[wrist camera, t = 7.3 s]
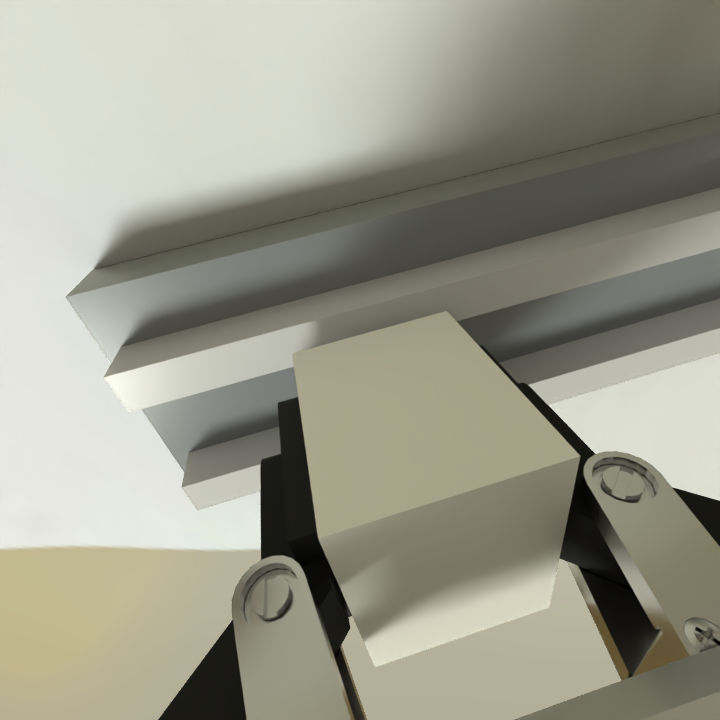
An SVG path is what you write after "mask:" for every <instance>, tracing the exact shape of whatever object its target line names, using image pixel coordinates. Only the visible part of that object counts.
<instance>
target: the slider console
mask: <svg viewBox="0 0 720 720" xmlns="http://www.w3.org/2000/svg"><path fill="white" fill-rule="evenodd" d="M66 298H67V300H68V301H69V303H70V304H71V306H72V307H73V309H74V310H75V311H76V313H77V314H78V316H79V317H80V319H81V320H82V322H83V323H84V325H85V326H86V328H87V329H88V331H89V332H90V334H91V335H92V337H93V338H94V340H95V341H96V342H97V344H98V345H99V347H100V348H101V350H102V351H103V353H104V354H105V356H106V357H107V359H108V360H109V362H110V363H111V365H110V367H109V369H108V371H107V372H106V374H105V376H104V379H105V380H106V381H107V383H108V384H109V386H110V387H111V389H112V390H113V391H114V393H115V394H116V396H117V397H118V398H119V400H120V401H121V403H122V404H123V405H124V407H125V408H126V410H127V411H128V413H129V412H133V411H137V410H140V409H142V410H143V412H144V413H145V415H146V416H147V418H148V419H149V421H150V422H151V424H152V425H153V427H154V428H155V430H156V431H157V433H158V434H159V435H160V437H161V438H162V440H163V441H164V443H165V444H166V446H167V447H168V449H169V450H170V452H171V453H172V455H173V456H174V458H175V459H176V461H177V462H178V464H179V465H180V467H181V468H182V469H183V471H184V472H185V473H184V478H183V483H182V489H183V490H184V492H185V493H186V494H187V496H188V497H189V499H190V500H191V502H192V503H193V504H194V506H195V507H196V509H197V510H200V509H203V508H207V507H210V506H213V505H217V504H220V503H223V502H227V501H230V500H233V499H236V498H240V497H243V496H246V495H250V494H253V493H256V492H260V491H261V482H260V465H261V460H262V459H264V458H268V457H271V456H275V455H278V454H281V447H280V432H279V418H278V402H282V401H285V400H289V399H292V398H296V397H298V392H297V384H296V377H295V370H294V363H293V356H292V353H296V352H300V351H303V350H307V349H310V348H314V347H318V346H321V345H325V344H329V343H332V342H336V341H339V340H343V339H347V338H350V337H354V336H358V335H361V334H365V333H368V332H372V331H376V330H379V329H383V328H386V327H390V326H394V325H397V324H401V323H405V322H408V321H412V320H415V319H419V318H423V317H426V316H430V315H434V314H437V313H441V312H444V311H447V312H448V313H449V314H450V315H451V316H452V317H453V318H454V319H455V320H456V321H457V323H458V324H459V325H460V326H461V327H462V328H463V329H464V330H465V331H466V332H467V333H468V334H469V336H470V337H471V338H472V339H473V340H474V341H475V342H476V343H477V344H478V345H482V346H484V347H485V348H486V349H487V351H488V352H489V353H490V354H491V355H492V356H493V357H494V358H495V359H496V360H497V361H498V362H499V363H500V364H501V366H502V367H503V368H504V369H505V370H506V371H507V372H508V373H509V374H510V375H511V376H512V377H513V378H514V379H515V381H516V382H517V383H518V384H519V383H522V382H523V383H526V384H527V385H529V386H530V387H531V388H532V389H533V390H534V391H535V392H536V393H537V394H538V395H539V396H540V397H541V398H542V399H543V400H544V402H545V403H546V404H547V405H548V404H551V403H555V402H558V401H561V400H565V399H568V398H571V397H575V396H578V395H581V394H585V393H588V392H591V391H595V390H598V389H601V388H605V387H608V386H611V385H614V384H618V383H621V382H624V381H628V380H631V379H634V378H638V377H641V376H644V375H648V374H651V373H654V372H658V371H661V370H664V369H668V368H671V367H674V366H677V365H681V364H684V363H687V362H691V361H694V360H697V359H701V358H704V357H707V356H711V355H714V354H717V353H720V113H719V114H715V115H711V116H707V117H703V118H699V119H695V120H691V121H687V122H683V123H679V124H675V125H671V126H667V127H663V128H659V129H655V130H651V131H647V132H643V133H639V134H635V135H631V136H627V137H623V138H619V139H615V140H611V141H607V142H603V143H599V144H595V145H591V146H587V147H583V148H579V149H575V150H571V151H567V152H563V153H559V154H555V155H551V156H547V157H543V158H539V159H535V160H531V161H527V162H523V163H519V164H515V165H511V166H507V167H503V168H499V169H495V170H491V171H487V172H483V173H479V174H475V175H471V176H467V177H463V178H459V179H455V180H451V181H447V182H443V183H439V184H435V185H431V186H427V187H423V188H419V189H415V190H411V191H407V192H403V193H399V194H395V195H391V196H387V197H383V198H379V199H375V200H371V201H366V202H362V203H358V204H354V205H350V206H346V207H342V208H338V209H334V210H330V211H326V212H322V213H318V214H314V215H310V216H306V217H302V218H298V219H294V220H290V221H286V222H282V223H278V224H274V225H270V226H266V227H262V228H258V229H254V230H250V231H246V232H242V233H238V234H234V235H230V236H226V237H222V238H218V239H214V240H210V241H206V242H202V243H198V244H194V245H190V246H186V247H182V248H178V249H174V250H170V251H166V252H162V253H158V254H154V255H150V256H146V257H142V258H138V259H134V260H130V261H126V262H122V263H118V264H114V265H110V266H106V267H102V268H98V269H94V270H92V271H91V272H90V273H89V274H88V275H87V276H86V277H85V278H84V279H83V280H82V281H81V282H80V283H79V284H78V285H77V286H76V287H75V288H74V289H73V290H72V291H71V292H70V293H69V294H68V295H67V296H66Z"/></svg>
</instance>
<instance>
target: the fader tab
mask: <svg viewBox="0 0 720 720" xmlns="http://www.w3.org/2000/svg"><path fill="white" fill-rule="evenodd" d="M292 356H293V363H294V370H295V377H296V384H297V392H298V399H299V406H300V413H301V420H302V427H303V434H304V441H305V449H306V456H307V463H308V470H309V477H310V484H311V491H312V498H313V505H314V513H315V520H316V527H317V534H318V539H319V542H320V544H321V546H322V548H323V551H324V553H325V555H326V557H327V560H328V562H329V564H330V566H331V569H332V571H333V573H334V575H335V578H336V580H337V582H338V585H339V587H340V589H341V591H342V594H343V596H344V598H345V600H346V603H347V605H348V607H349V609H350V612H351V614H352V616H353V618H354V621H355V623H356V625H357V627H358V630H359V632H360V634H361V637H362V639H363V641H364V643H365V646H366V648H367V650H368V652H369V655H370V657H371V659H372V661H373V664H374V666H375V667H377V666H380V665H383V664H386V663H389V662H392V661H395V660H397V659H400V658H403V657H406V656H409V655H412V654H415V653H418V652H421V651H424V650H427V649H429V648H432V647H435V646H438V645H441V644H444V643H447V642H450V641H453V640H456V639H458V638H462V637H464V636H467V635H470V634H473V633H476V632H479V631H482V630H485V629H488V628H491V627H493V626H496V625H499V624H502V623H505V622H508V621H511V620H514V619H517V618H520V617H523V616H525V615H528V614H531V613H534V612H537V611H540V610H543V609H546V608H548V607H549V606H550V602H551V597H552V591H553V587H554V582H555V577H556V572H557V567H558V562H559V558H560V553H561V548H562V543H563V538H564V534H565V529H566V524H567V519H568V514H569V509H570V504H571V499H572V495H573V490H574V485H575V480H576V475H577V470H578V465H579V461H580V455H579V454H578V453H577V452H576V451H575V450H574V449H573V447H572V446H571V445H570V444H569V443H568V442H567V441H566V440H565V439H564V438H563V437H562V435H561V434H560V433H559V432H558V431H557V430H556V429H555V428H554V427H553V426H552V425H551V424H550V422H549V421H548V420H547V419H546V418H545V417H544V416H543V415H542V414H541V413H540V412H539V411H538V409H537V408H536V407H535V406H534V405H533V404H532V403H531V402H530V401H529V400H528V399H527V397H526V396H525V395H524V394H523V393H522V392H521V391H520V390H519V389H518V388H517V387H516V386H515V384H514V383H513V382H512V381H511V380H510V379H509V378H508V377H507V376H506V375H505V374H504V373H503V371H502V370H501V369H500V368H499V367H498V366H497V365H496V364H495V363H494V362H493V361H492V359H491V358H490V357H489V356H488V355H487V354H486V353H485V352H484V351H483V350H482V349H481V348H480V346H479V345H478V344H477V343H476V342H475V341H474V340H473V339H472V338H471V337H470V336H469V334H468V333H467V332H466V331H465V330H464V329H463V328H462V327H461V326H460V325H459V324H458V323H457V321H456V320H455V319H454V318H453V317H452V316H451V315H450V314H449V313H448V312H447V311H444V312H441V313H437V314H434V315H430V316H426V317H423V318H419V319H415V320H412V321H408V322H405V323H401V324H397V325H394V326H390V327H386V328H383V329H379V330H376V331H372V332H368V333H365V334H361V335H358V336H354V337H350V338H347V339H343V340H339V341H336V342H332V343H329V344H325V345H321V346H318V347H314V348H310V349H307V350H303V351H300V352H296V353H292Z"/></svg>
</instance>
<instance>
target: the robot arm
mask: <svg viewBox="0 0 720 720" xmlns="http://www.w3.org/2000/svg"><path fill="white" fill-rule="evenodd" d="M479 346H480V348H481V349H482V350H483V351H484V352H485V353H486V354H487V355H488V356H489V357H490V358H491V359H492V361H493V362H494V363H495V364H496V365H497V366H498V367H499V368H500V369H501V370H502V371H503V373H504V374H505V375H506V376H507V377H508V378H509V379H510V380H511V381H512V382H513V383H514V384H515V386H516V387H517V388H518V389H519V390H520V391H521V392H522V393H523V394H524V395H525V396H526V397H527V399H528V400H529V401H530V402H531V403H532V404H533V405H534V406H535V407H536V408H537V409H538V411H539V412H540V413H541V414H542V415H543V416H544V417H545V418H546V419H547V420H548V421H549V422H550V424H551V425H552V426H553V427H554V428H555V429H556V430H557V431H558V432H559V433H560V434H561V435H562V437H563V438H564V439H565V440H566V441H567V442H568V443H569V444H570V445H571V446H572V447H573V449H574V450H575V451H576V452H577V453H578V454H579V455H580V461H579V465H578V470H577V475H576V480H575V485H574V490H573V495H572V499H571V504H570V509H569V514H568V519H567V524H566V529H565V534H564V538H563V543H562V548H561V553H560V559H563V560H565V561H567V562H568V565H569V567H570V569H571V572H572V574H573V576H574V578H575V580H576V583H577V585H578V587H579V589H580V591H581V593H582V596H583V598H584V600H585V602H586V604H587V607H588V609H589V611H590V613H591V615H592V617H593V620H594V622H595V624H596V626H597V628H598V631H599V633H600V635H601V637H602V639H603V641H604V644H605V646H606V648H607V650H608V652H609V654H610V657H611V659H612V661H613V663H614V665H615V668H616V670H617V672H618V674H619V676H620V678H621V681H620V682H617V683H614V684H611V685H609V686H606V687H603V688H600V689H598V690H595V691H592V692H590V693H587V694H584V695H581V696H578V697H576V698H573V699H570V700H567V701H564V702H562V703H559V704H556V705H553V706H551V707H548V708H545V709H543V710H540V711H537V712H534V713H532V714H529V715H526V716H523V717H521V718H518V719H515V720H720V501H718V500H714V499H711V498H707V497H704V496H700V495H697V494H693V493H690V492H686V491H683V490H679V489H676V488H672V487H671V486H670V484H669V483H668V482H667V481H666V479H665V478H664V477H663V476H662V474H661V473H660V472H659V471H658V470H657V469H656V468H655V467H653V466H652V465H651V464H649V463H648V462H646V461H644V460H643V459H641V458H639V457H636V456H633V455H631V454H628V453H622V452H617V451H612V452H602V453H598V454H595V453H594V452H593V451H592V450H591V449H590V448H589V447H588V446H587V445H586V444H585V443H584V442H583V441H582V440H581V439H580V438H579V437H578V436H577V435H576V434H575V433H574V432H573V430H572V429H571V428H570V427H569V426H568V425H567V424H566V423H565V422H564V421H563V420H562V419H561V418H560V417H559V416H558V415H557V414H556V413H555V412H554V411H553V410H552V409H551V408H550V407H549V406H548V405H547V404H546V403H545V402H544V400H543V399H542V398H541V397H540V396H539V395H538V394H537V393H536V392H535V391H534V390H533V389H532V388H531V387H530V386H529V385H527V384H526V383H523V382H522V383H519V384H518V383H517V382H516V381H515V379H514V378H513V377H512V376H511V375H510V374H509V373H508V372H507V371H506V370H505V369H504V368H503V367H502V366H501V364H500V363H499V362H498V361H497V360H496V359H495V358H494V357H493V356H492V355H491V354H490V353H489V352H488V351H487V349H486V348H485V347H484V346H482V345H479ZM278 418H279V432H280V447H281V454H278V455H275V456H271V457H268V458H264V459H262V460H261V465H260V482H261V560H260V561H259V562H257V563H256V564H254V565H253V566H252V567H250V568H249V570H248V571H247V572H246V573H245V574H244V575H243V576H242V578H241V579H240V581H239V583H238V584H237V586H236V588H235V592H234V595H233V598H232V618H233V620H232V621H231V623H230V624H229V625H228V627H227V628H226V630H225V631H224V632H223V633H222V635H221V636H220V637H219V639H218V640H217V641H216V643H215V644H214V645H213V647H212V648H211V650H210V651H209V652H208V654H207V655H206V656H205V658H204V659H203V660H202V662H201V663H200V664H199V666H198V667H197V668H196V670H195V671H194V673H193V674H192V675H191V676H190V678H189V679H188V680H187V682H186V683H185V685H184V686H183V687H182V688H181V690H180V691H179V693H178V694H177V695H176V697H175V698H174V699H173V701H172V702H171V703H170V705H169V706H168V707H167V709H166V710H165V711H164V713H163V714H162V715H161V717H160V718H159V719H158V720H367V718H366V715H365V712H364V709H363V706H362V703H361V701H360V698H359V695H358V692H357V689H356V686H355V683H354V680H353V677H352V674H351V671H350V668H349V666H348V663H347V660H346V657H345V654H344V651H343V648H342V646H341V644H342V642H343V641H344V639H345V637H346V635H347V633H348V631H349V629H350V624H349V618H348V617H350V616H352V614H351V612H350V609H349V607H348V605H347V603H346V600H345V598H344V596H343V594H342V591H341V589H340V587H339V585H338V582H337V580H336V578H335V575H334V573H333V571H332V569H331V566H330V564H329V562H328V560H327V557H326V555H325V553H324V551H323V548H322V546H321V544H320V542H319V539H318V534H317V527H316V520H315V513H314V505H313V498H312V491H311V484H310V477H309V470H308V463H307V456H306V449H305V441H304V434H303V427H302V420H301V413H300V406H299V399H298V397H296V398H292V399H289V400H285V401H282V402H278Z"/></svg>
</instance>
